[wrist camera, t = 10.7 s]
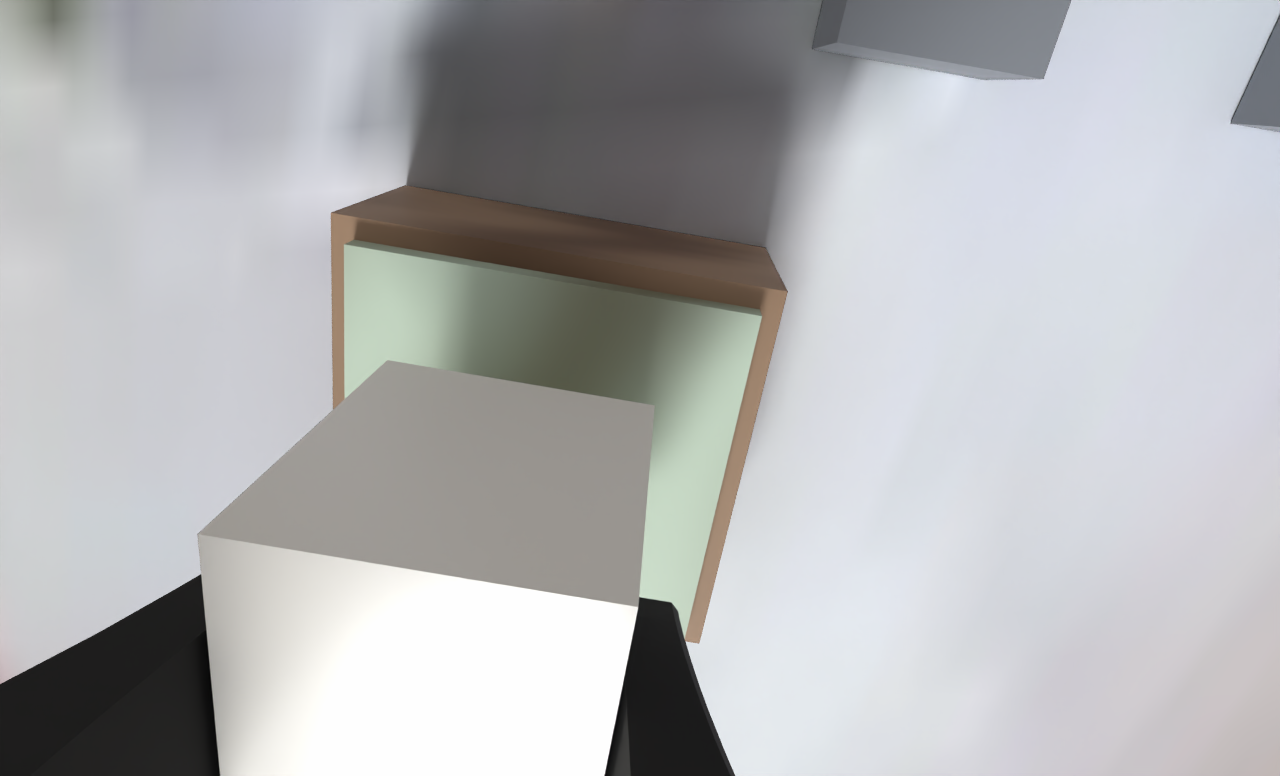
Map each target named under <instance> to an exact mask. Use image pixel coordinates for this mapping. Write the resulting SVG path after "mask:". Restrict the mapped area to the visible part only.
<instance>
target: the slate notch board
mask: <svg viewBox="0 0 1280 776" xmlns="http://www.w3.org/2000/svg"><path fill="white" fill-rule="evenodd" d="M1070 3H1071V0H823V3H822V7H821V11H820V16H819V20H818V24H817V28H816V33H815V37H814V41H813V46H812V49H814V50H819V51H825V52H831V53H836V54H842V55H848V56H853V57H859V58H865V59H870V60H876V61H881V62H887V63H893V64H898V65H904V66H910V67H915V68H921V69H927V70H932V71H938V72H944V73H949V74H955V75H960V76H966V77H972V78H977V79H983V80H1015V79H1044V76H1045V73H1046V70H1047V67H1048V65H1049V62H1050V59H1051V56H1052V53H1053V51H1054V48H1055V45H1056V42H1057V39H1058V36H1059V34H1060V31H1061V28H1062V25H1063V22H1064V20H1065V17H1066V14H1067V11H1068V8H1069V5H1070ZM1231 124H1237V125H1243V126H1248V127H1254V128H1260V129H1265V130H1271V131H1277V132H1280V17H1279V19H1278V22H1277V24H1276V26H1275V28H1274V30H1273V32H1272V35H1271V37H1270V39H1269V41H1268V43H1267V45H1266V48H1265V50H1264V52H1263V54H1262V56H1261V58H1260V61H1259V63H1258V65H1257V67H1256V69H1255V71H1254V74H1253V76H1252V78H1251V80H1250V82H1249V84H1248V87H1247V89H1246V91H1245V93H1244V95H1243V97H1242V100H1241V102H1240V104H1239V106H1238V108H1237V110H1236V113H1235V115H1234V117H1233V119H1232V121H1231Z"/></svg>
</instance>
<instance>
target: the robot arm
mask: <svg viewBox="0 0 1280 776" xmlns="http://www.w3.org/2000/svg"><path fill="white" fill-rule="evenodd" d="M0 776H220V768H219V758H218V747H217V737H216V726H215V715H214V705H213V694H212V683H211V673H210V662H209V652H208V641H207V630H206V620H205V609H204V599H203V588H202V577H201V575H199V576H197V577H196V578H194V579H192V580H190V581H189V582H187V583H185V584H184V585H182V586H180V587H178V588H177V589H175V590H173V591H171V592H170V593H168V594H166V595H164V596H163V597H161V598H159V599H157V600H156V601H154V602H152V603H150V604H149V605H147V606H145V607H143V608H141V609H140V610H138V611H136V612H134V613H133V614H131V615H129V616H127V617H126V618H124V619H122V620H120V621H118V622H117V623H115V624H113V625H111V626H110V627H108V628H106V629H104V630H103V631H101V632H99V633H97V634H95V635H93V636H92V637H90V638H88V639H86V640H84V641H82V642H80V643H78V644H76V645H74V646H72V647H71V648H69V649H67V650H65V651H63V652H61V653H59V654H57V655H55V656H53V657H51V658H49V659H48V660H46V661H44V662H42V663H40V664H38V665H36V666H34V667H32V668H30V669H28V670H27V671H25V672H23V673H21V674H19V675H17V676H15V677H13V678H11V679H9V680H7V681H5V682H4V683H2V684H0ZM604 776H735V774H734V772H733V770H732V767H731V765H730V763H729V760H728V758H727V756H726V753H725V751H724V748H723V746H722V743H721V741H720V738H719V736H718V733H717V731H716V728H715V726H714V723H713V721H712V718H711V716H710V713H709V711H708V708H707V706H706V703H705V700H704V697H703V695H702V692H701V689H700V686H699V683H698V680H697V677H696V674H695V671H694V668H693V665H692V662H691V659H690V656H689V652H688V649H687V646H686V642H685V639H684V635H683V631H682V627H681V623H680V618H679V613H678V610H677V609H676V608H675V606H674V605H673V604H672V602H666V601H660V600H654V599H648V598H642V597H639V604H638V611H637V616H636V621H635V626H634V631H633V636H632V641H631V646H630V651H629V656H628V661H627V666H626V671H625V676H624V681H623V686H622V691H621V696H620V700H619V705H618V710H617V715H616V720H615V725H614V730H613V735H612V740H611V745H610V750H609V755H608V760H607V765H606V770H605V775H604Z"/></svg>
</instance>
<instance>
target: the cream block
mask: <svg viewBox="0 0 1280 776" xmlns="http://www.w3.org/2000/svg"><path fill="white" fill-rule="evenodd" d="M654 408H655V405H649V404H643V403H638V402H632V401H626V400H620V399H614V398H608V397H602V396H596V395H590V394H585V393H579V392H573V391H567V390H561V389H555V388H549V387H543V386H537V385H532V384H526V383H520V382H514V381H508V380H502V379H496V378H490V377H484V376H479V375H473V374H467V373H461V372H455V371H449V370H443V369H437V368H431V367H426V366H420V365H414V364H408V363H402V362H396V361H390V360H387V361H386V362H385V363H384V364H383V365H381V366H380V367H379V368H378V369H377V370H376V371H375V372H374V373H373V374H372V375H371V376H369V377H368V378H367V379H366V380H365V381H364V382H363V383H362V384H361V385H360V386H359V387H357V388H356V389H355V390H354V391H353V392H352V393H351V394H350V395H349V396H348V397H347V398H345V399H344V400H343V401H342V402H341V403H340V404H339V405H338V406H337V407H336V408H335V409H333V410H332V411H331V412H330V413H329V414H328V415H327V416H326V417H325V418H324V419H323V420H321V421H320V422H319V423H318V424H317V425H316V426H315V427H314V428H313V429H312V430H310V431H309V432H308V433H307V434H306V435H305V436H304V437H303V438H302V439H301V440H300V441H298V442H297V443H296V444H295V445H294V446H293V447H292V448H291V449H290V450H289V451H288V452H286V453H285V454H284V455H283V456H282V457H281V458H280V459H279V460H278V461H277V462H276V463H274V464H273V465H272V466H271V467H270V468H269V469H268V470H267V471H266V472H265V473H264V474H262V475H261V476H260V477H259V478H258V479H257V480H256V481H255V482H254V483H253V484H252V485H250V486H249V487H248V488H247V489H246V490H245V491H244V492H243V493H242V494H241V495H240V496H238V497H237V498H236V499H235V500H234V501H233V502H232V503H231V504H230V505H229V506H228V507H226V508H225V509H224V510H223V511H222V512H221V513H220V514H219V515H218V516H217V517H216V518H214V519H213V520H212V521H211V522H210V523H209V524H208V525H207V526H206V527H205V528H204V529H202V530H201V531H200V532H199V533H198V534H197V535H198V546H199V556H200V567H201V577H202V588H203V599H204V609H205V620H206V630H207V641H208V652H209V662H210V673H211V683H212V694H213V705H214V715H215V726H216V737H217V747H218V758H219V768H220V776H604V775H605V770H606V765H607V760H608V755H609V750H610V745H611V740H612V735H613V730H614V725H615V720H616V715H617V710H618V705H619V700H620V696H621V691H622V686H623V681H624V676H625V671H626V666H627V661H628V656H629V651H630V646H631V641H632V636H633V631H634V626H635V621H636V616H637V611H638V604H639V592H640V580H641V568H642V555H643V543H644V531H645V519H646V506H647V494H648V482H649V470H650V457H651V445H652V433H653V421H654Z"/></svg>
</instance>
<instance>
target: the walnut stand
mask: <svg viewBox="0 0 1280 776" xmlns="http://www.w3.org/2000/svg"><path fill="white" fill-rule="evenodd" d="M331 267H332V358H333V409H335V408H336V407H337V406H338V405H339V404H340V403H341V402H342V401H343V400H344V399H345V398H347V397H348V396H349V395H350V394H351V393H352V392H353V391H354V390H355V389H356V388H357V387H359V386H360V385H361V384H362V383H363V382H364V381H365V380H366V379H367V378H368V377H369V376H371V375H372V374H373V373H374V372H375V371H376V370H377V369H378V368H379V367H380V366H381V365H383V364H384V363H385V362H386V361H387V360H390V361H396V362H402V363H408V364H414V365H420V366H426V367H431V368H437V369H443V370H449V371H455V372H461V373H467V374H473V375H479V376H484V377H490V378H496V379H502V380H508V381H514V382H520V383H526V384H532V385H537V386H543V387H549V388H555V389H561V390H567V391H573V392H579V393H585V394H590V395H596V396H602V397H608V398H614V399H620V400H626V401H632V402H638V403H643V404H649V405H655V408H654V421H653V433H652V445H651V457H650V470H649V482H648V494H647V506H646V519H645V531H644V543H643V555H642V568H641V580H640V592H639V597H642V598H648V599H654V600H660V601H666V602H672V604H673V605H674V606H675V608H676V609H677V610H678V613H679V618H680V623H681V627H682V631H683V635H684V639H685V641H687V642H693V643H699V642H700V638H701V634H702V630H703V626H704V622H705V618H706V614H707V610H708V606H709V602H710V598H711V594H712V590H713V587H714V583H715V579H716V575H717V571H718V567H719V563H720V559H721V555H722V551H723V547H724V543H725V539H726V535H727V531H728V527H729V523H730V519H731V515H732V511H733V507H734V503H735V499H736V495H737V491H738V487H739V483H740V479H741V475H742V471H743V467H744V463H745V459H746V455H747V451H748V447H749V443H750V439H751V435H752V431H753V427H754V423H755V419H756V415H757V411H758V407H759V403H760V399H761V395H762V391H763V388H764V384H765V380H766V376H767V372H768V368H769V364H770V360H771V356H772V352H773V348H774V344H775V340H776V336H777V332H778V328H779V324H780V320H781V316H782V312H783V308H784V304H785V300H786V296H787V292H788V291H787V289H786V287H785V285H784V283H783V281H782V279H781V277H780V275H779V274H778V272H777V270H776V268H775V266H774V264H773V262H772V260H771V258H770V256H769V254H768V252H767V250H766V248H764V247H758V246H752V245H747V244H741V243H735V242H729V241H724V240H718V239H712V238H706V237H700V236H695V235H689V234H683V233H677V232H672V231H666V230H660V229H654V228H649V227H643V226H637V225H631V224H625V223H620V222H614V221H608V220H602V219H597V218H591V217H585V216H579V215H574V214H568V213H562V212H556V211H550V210H545V209H539V208H533V207H527V206H522V205H516V204H510V203H504V202H498V201H493V200H487V199H481V198H475V197H470V196H464V195H458V194H452V193H447V192H441V191H435V190H429V189H423V188H418V187H412V186H406V185H405V186H402V187H399V188H397V189H394V190H391V191H389V192H386V193H383V194H380V195H378V196H375V197H372V198H370V199H367V200H364V201H361V202H359V203H356V204H353V205H351V206H348V207H345V208H342V209H340V210H337V211H334V212H332V213H331Z"/></svg>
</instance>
